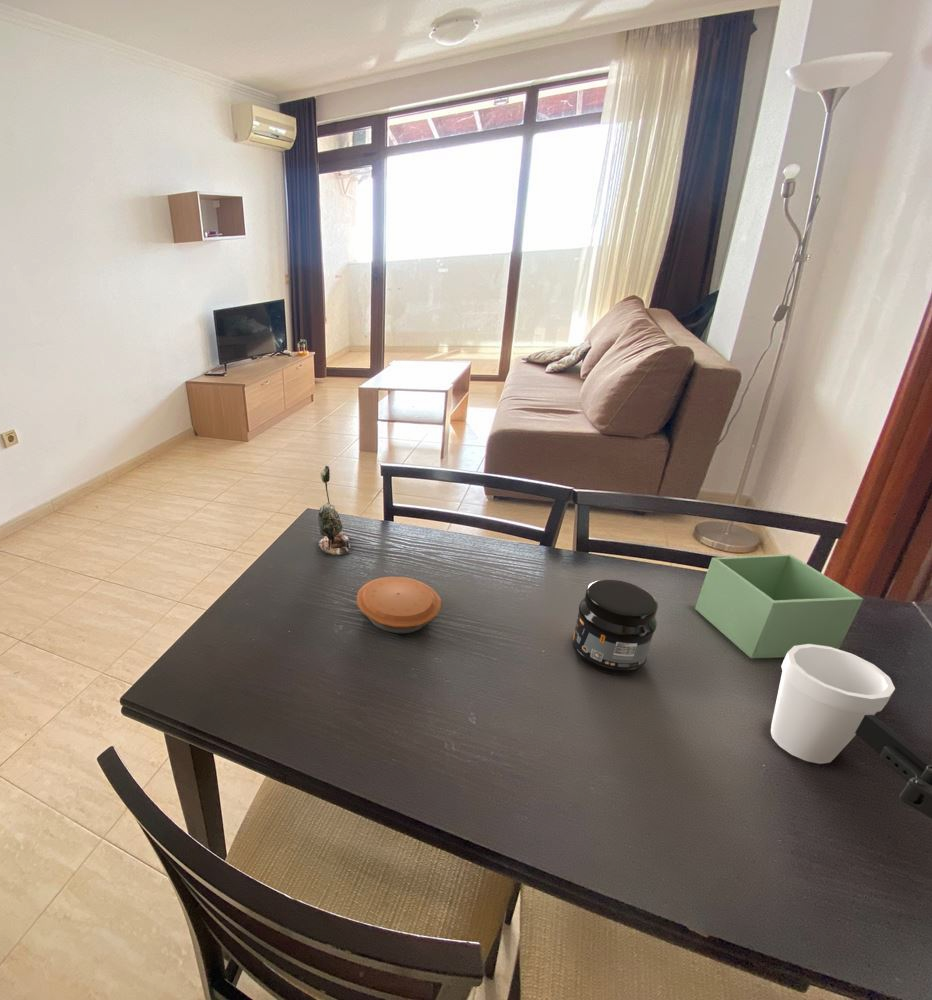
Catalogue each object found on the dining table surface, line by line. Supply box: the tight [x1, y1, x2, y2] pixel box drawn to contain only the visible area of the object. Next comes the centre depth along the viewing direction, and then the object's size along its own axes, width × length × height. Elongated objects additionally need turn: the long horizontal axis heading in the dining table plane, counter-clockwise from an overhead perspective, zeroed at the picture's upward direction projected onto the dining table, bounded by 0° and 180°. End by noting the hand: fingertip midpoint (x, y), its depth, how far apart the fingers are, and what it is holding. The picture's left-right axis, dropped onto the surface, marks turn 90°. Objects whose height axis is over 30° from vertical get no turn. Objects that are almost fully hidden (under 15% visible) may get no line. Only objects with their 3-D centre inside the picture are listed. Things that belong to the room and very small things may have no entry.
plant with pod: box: [317, 465, 352, 556], centre depth 123 cm, size 8×11×20 cm
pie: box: [356, 576, 442, 634], centre depth 102 cm, size 15×16×5 cm
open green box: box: [694, 553, 864, 659], centre depth 89 cm, size 13×13×11 cm
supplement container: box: [571, 579, 659, 676], centre depth 87 cm, size 10×10×12 cm
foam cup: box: [770, 644, 896, 765], centre depth 69 cm, size 10×9×13 cm
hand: (930, 721), depth 57 cm, fingers open, 13 cm apart
